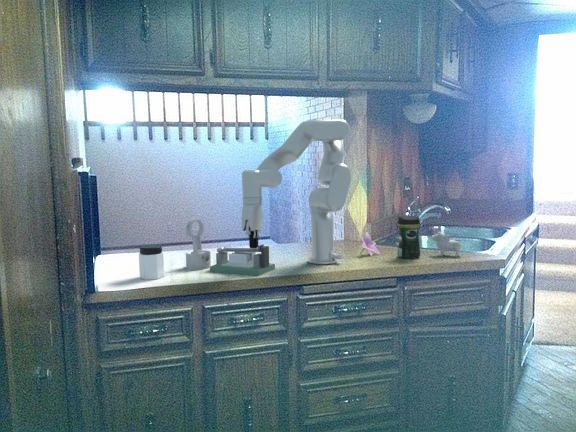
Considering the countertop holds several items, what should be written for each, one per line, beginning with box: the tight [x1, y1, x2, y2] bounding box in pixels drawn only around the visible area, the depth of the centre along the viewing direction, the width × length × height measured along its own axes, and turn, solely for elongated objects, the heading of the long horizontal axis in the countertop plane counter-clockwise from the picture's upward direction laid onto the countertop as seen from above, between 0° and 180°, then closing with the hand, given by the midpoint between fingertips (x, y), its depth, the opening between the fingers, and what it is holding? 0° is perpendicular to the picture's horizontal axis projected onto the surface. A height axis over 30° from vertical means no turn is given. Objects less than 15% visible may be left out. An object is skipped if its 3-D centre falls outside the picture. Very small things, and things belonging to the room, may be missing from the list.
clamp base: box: [209, 245, 276, 277], centre depth 215 cm, size 22×14×10 cm, turn 66°
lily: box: [358, 231, 381, 257], centre depth 245 cm, size 12×12×10 cm
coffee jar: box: [397, 215, 421, 259], centre depth 237 cm, size 10×8×19 cm
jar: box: [138, 244, 165, 281], centre depth 203 cm, size 9×8×12 cm
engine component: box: [185, 217, 212, 271], centre depth 220 cm, size 11×20×10 cm
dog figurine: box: [431, 231, 462, 258], centre depth 240 cm, size 5×13×11 cm, turn 69°
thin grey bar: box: [216, 244, 265, 253], centre depth 215 cm, size 19×4×3 cm, turn 66°
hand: (253, 247), depth 212 cm, fingers closed
